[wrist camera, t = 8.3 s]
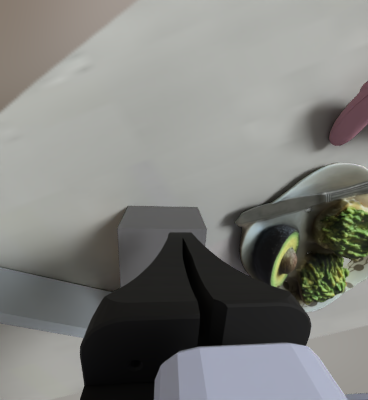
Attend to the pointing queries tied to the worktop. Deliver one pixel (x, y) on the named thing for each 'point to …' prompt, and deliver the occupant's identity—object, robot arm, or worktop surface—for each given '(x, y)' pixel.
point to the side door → (47, 303)
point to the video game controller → (351, 119)
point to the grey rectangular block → (152, 235)
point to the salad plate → (311, 236)
